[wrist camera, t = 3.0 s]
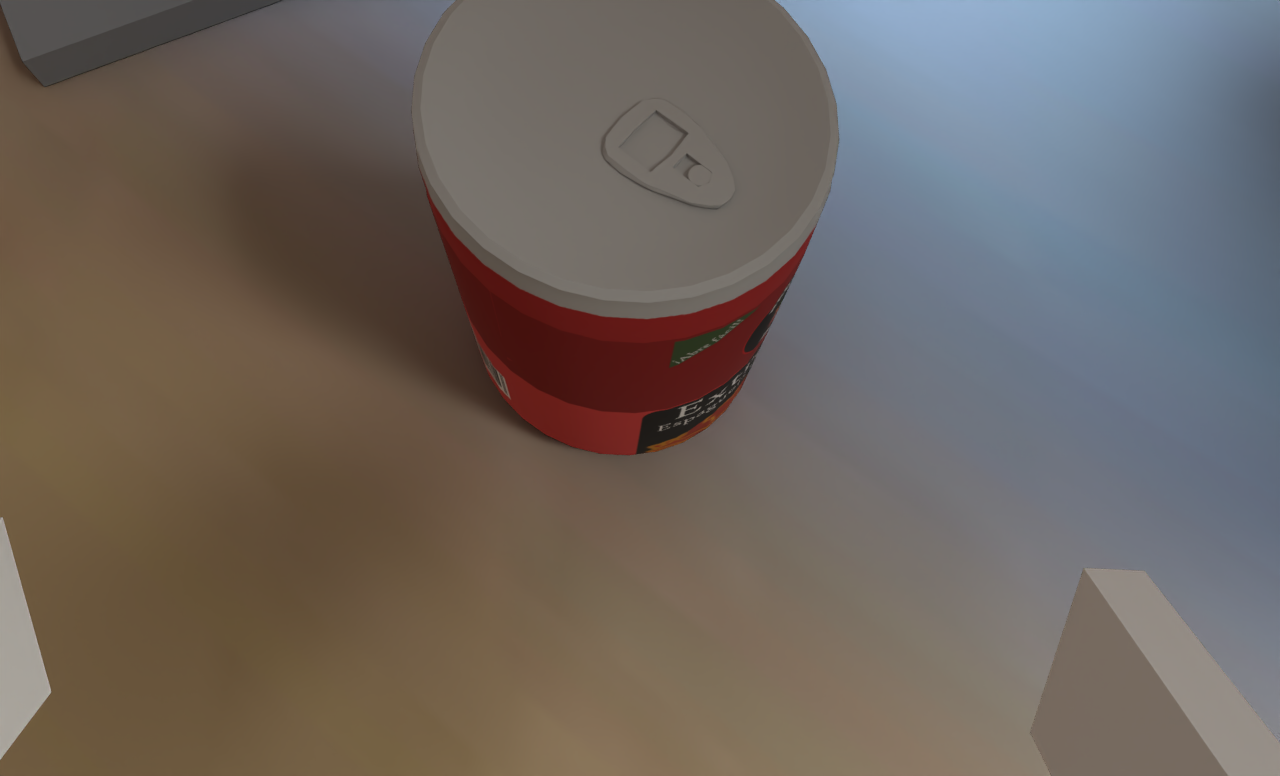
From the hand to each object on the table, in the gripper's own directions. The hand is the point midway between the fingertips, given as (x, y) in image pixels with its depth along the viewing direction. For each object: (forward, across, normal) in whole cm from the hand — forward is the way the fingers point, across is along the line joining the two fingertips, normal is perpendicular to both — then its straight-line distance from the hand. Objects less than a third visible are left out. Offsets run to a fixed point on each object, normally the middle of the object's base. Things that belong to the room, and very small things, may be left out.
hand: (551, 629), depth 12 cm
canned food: (+16, +1, -3) cm, 16 cm away
